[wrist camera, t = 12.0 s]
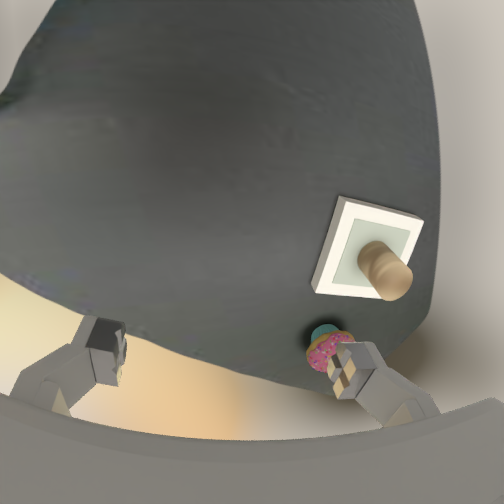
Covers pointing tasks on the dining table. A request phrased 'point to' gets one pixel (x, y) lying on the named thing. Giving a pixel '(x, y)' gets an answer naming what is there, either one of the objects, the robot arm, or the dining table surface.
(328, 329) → the cupcake
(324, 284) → the base slab
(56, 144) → the dining table surface
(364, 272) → the bread loaf
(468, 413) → the robot arm
